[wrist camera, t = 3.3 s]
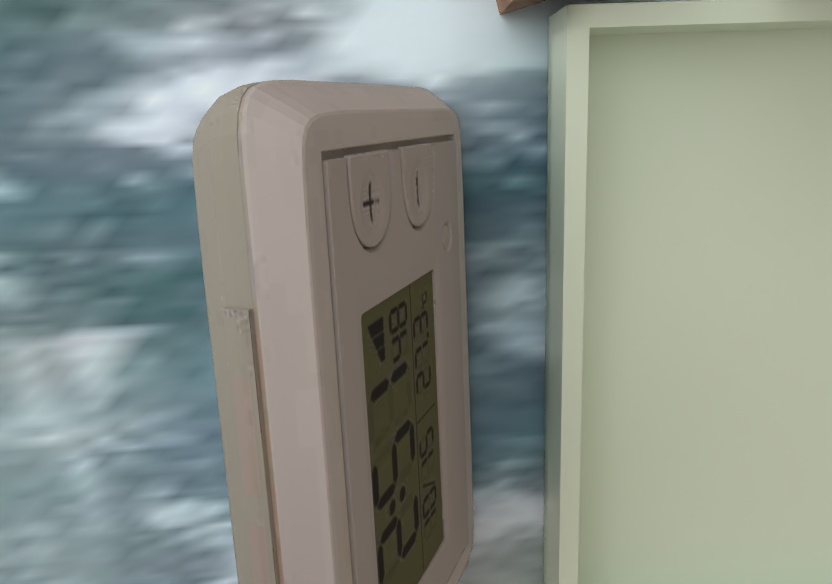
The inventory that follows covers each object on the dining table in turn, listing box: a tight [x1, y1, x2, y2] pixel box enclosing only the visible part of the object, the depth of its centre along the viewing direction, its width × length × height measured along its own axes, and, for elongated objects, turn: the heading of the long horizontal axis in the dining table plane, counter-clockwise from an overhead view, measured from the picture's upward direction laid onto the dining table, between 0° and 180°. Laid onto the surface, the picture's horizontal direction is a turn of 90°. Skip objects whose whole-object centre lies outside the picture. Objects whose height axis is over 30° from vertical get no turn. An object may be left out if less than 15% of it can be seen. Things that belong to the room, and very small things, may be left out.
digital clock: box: [193, 80, 473, 584], centre depth 20 cm, size 16×9×11 cm, turn 171°
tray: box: [543, 0, 832, 584], centre depth 24 cm, size 17×21×3 cm
